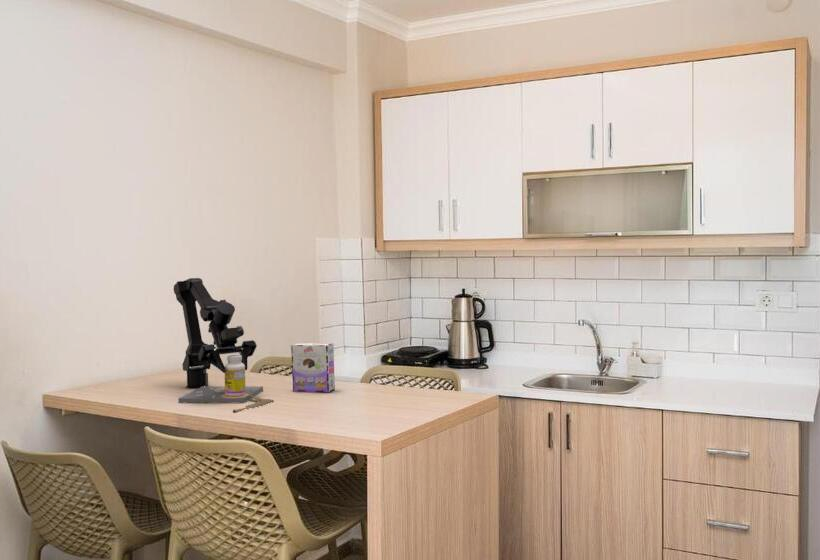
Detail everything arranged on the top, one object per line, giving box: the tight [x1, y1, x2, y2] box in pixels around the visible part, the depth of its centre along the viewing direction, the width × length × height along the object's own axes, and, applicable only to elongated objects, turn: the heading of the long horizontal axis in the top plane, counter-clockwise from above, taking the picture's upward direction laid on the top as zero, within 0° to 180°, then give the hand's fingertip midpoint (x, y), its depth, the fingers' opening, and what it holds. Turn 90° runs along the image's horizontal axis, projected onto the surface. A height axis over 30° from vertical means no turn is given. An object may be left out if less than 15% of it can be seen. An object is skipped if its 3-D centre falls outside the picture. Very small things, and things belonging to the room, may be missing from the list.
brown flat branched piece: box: [232, 395, 275, 413], centre depth 257 cm, size 9×20×2 cm, turn 176°
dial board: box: [177, 386, 264, 404], centre depth 273 cm, size 22×21×3 cm
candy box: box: [290, 342, 336, 393], centre depth 280 cm, size 14×6×16 cm, turn 71°
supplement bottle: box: [224, 354, 247, 396], centre depth 266 cm, size 7×7×13 cm
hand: (235, 370), depth 265 cm, fingers open, 7 cm apart
